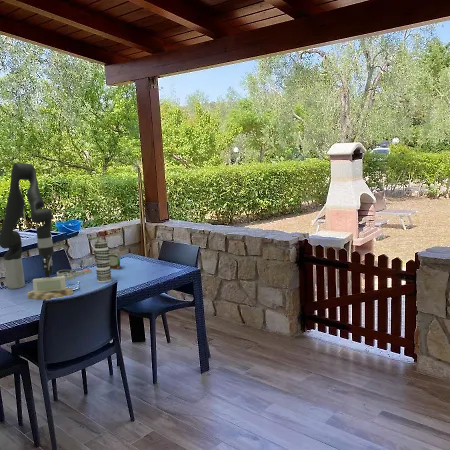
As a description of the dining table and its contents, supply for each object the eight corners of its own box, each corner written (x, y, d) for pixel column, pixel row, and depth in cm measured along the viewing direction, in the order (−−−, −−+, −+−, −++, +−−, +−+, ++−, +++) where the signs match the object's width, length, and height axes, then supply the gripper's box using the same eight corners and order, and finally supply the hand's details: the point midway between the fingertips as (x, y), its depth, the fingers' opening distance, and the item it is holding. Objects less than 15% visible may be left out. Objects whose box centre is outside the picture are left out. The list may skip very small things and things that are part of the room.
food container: (126, 267, 302) (124, 253, 300) (119, 270, 297) (117, 255, 295) (112, 266, 308) (111, 251, 307) (106, 268, 303) (104, 253, 302)
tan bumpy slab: (27, 298, 246) (27, 292, 246) (46, 290, 258) (45, 285, 257) (55, 301, 238) (55, 295, 237) (73, 293, 250) (72, 288, 249)
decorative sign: (63, 278, 276) (46, 273, 288) (63, 282, 276) (46, 277, 289) (94, 269, 292) (76, 266, 305) (94, 273, 293) (76, 269, 305)
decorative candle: (95, 283, 268) (91, 242, 264) (97, 279, 277) (93, 239, 273) (111, 281, 270) (107, 240, 266) (112, 277, 279) (109, 237, 275)
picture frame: (33, 293, 244) (32, 280, 243) (35, 291, 248) (33, 278, 247) (64, 290, 247) (63, 277, 246) (65, 288, 251) (64, 275, 250)
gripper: (50, 247, 237) (54, 277, 240) (54, 242, 251) (58, 271, 254) (35, 249, 236) (39, 279, 239) (40, 244, 250) (44, 272, 252)
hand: (49, 275), depth 246 cm, fingers open, 8 cm apart
